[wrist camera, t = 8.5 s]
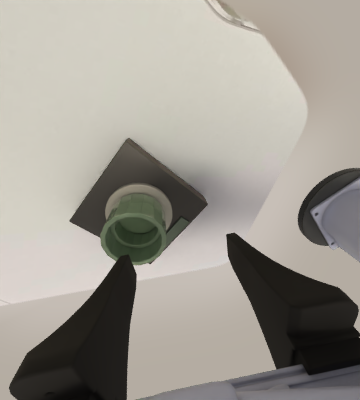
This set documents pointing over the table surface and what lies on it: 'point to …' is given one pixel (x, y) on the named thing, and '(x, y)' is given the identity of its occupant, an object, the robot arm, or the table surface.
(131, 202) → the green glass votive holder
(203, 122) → the table surface
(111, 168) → the scale
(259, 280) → the robot arm
